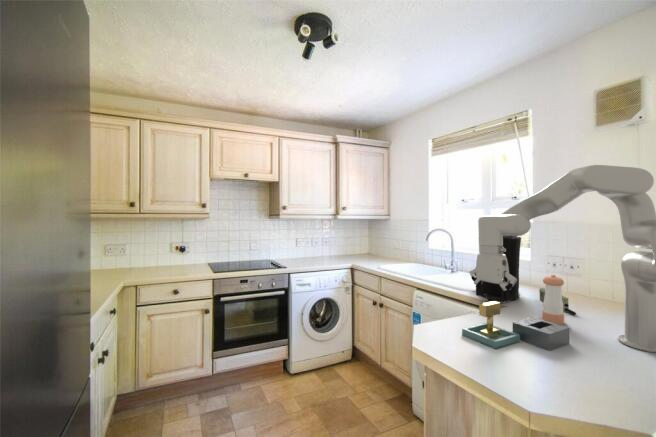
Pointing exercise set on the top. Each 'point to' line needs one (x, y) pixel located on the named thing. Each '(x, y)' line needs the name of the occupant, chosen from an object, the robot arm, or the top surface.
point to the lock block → (542, 333)
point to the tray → (495, 343)
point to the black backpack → (512, 255)
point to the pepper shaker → (553, 300)
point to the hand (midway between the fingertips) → (492, 298)
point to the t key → (489, 318)
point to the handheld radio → (564, 300)
